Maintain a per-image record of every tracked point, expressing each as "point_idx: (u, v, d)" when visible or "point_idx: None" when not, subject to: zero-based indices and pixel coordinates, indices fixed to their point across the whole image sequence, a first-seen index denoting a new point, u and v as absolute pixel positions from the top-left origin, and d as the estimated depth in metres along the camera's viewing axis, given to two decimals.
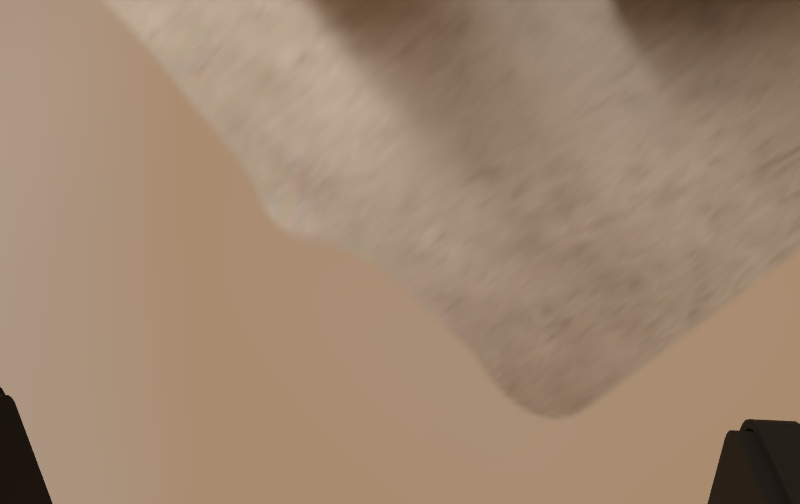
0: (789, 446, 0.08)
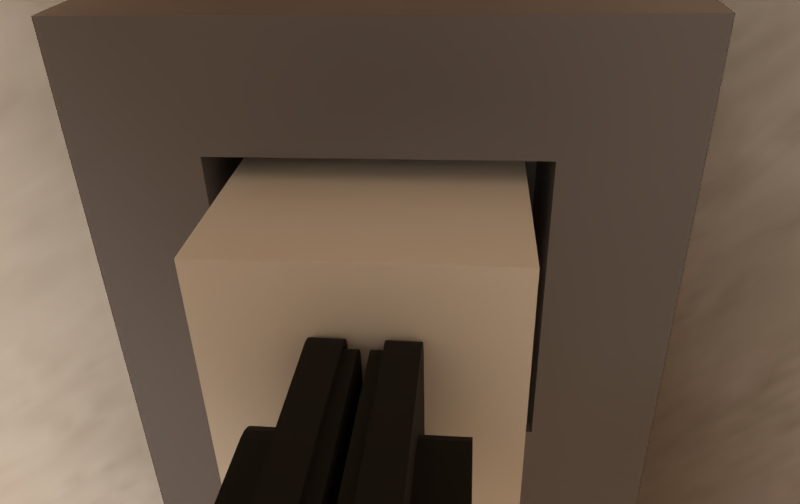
0: (400, 358, 0.09)
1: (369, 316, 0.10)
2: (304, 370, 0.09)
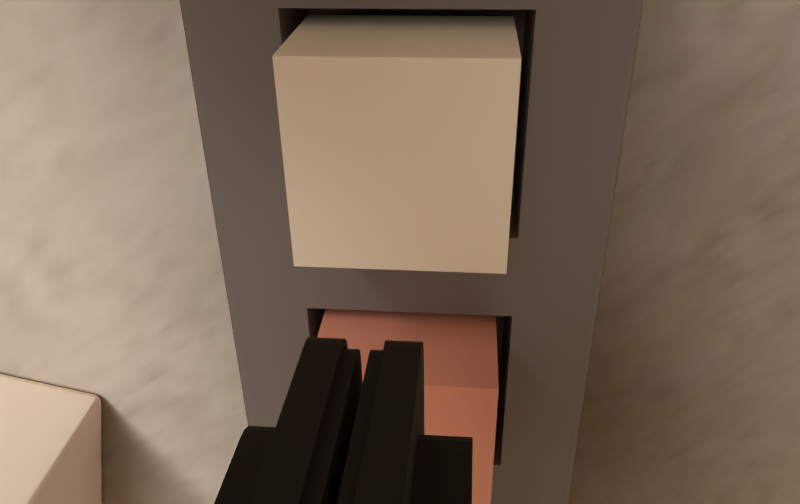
0: (400, 359, 0.09)
1: (405, 99, 0.14)
2: (304, 370, 0.09)
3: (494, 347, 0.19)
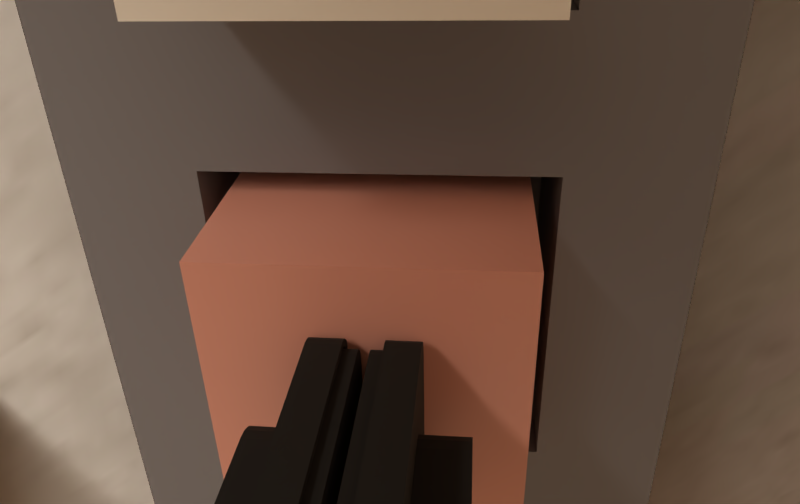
0: (400, 359, 0.09)
1: None
2: (304, 370, 0.09)
3: (530, 213, 0.11)
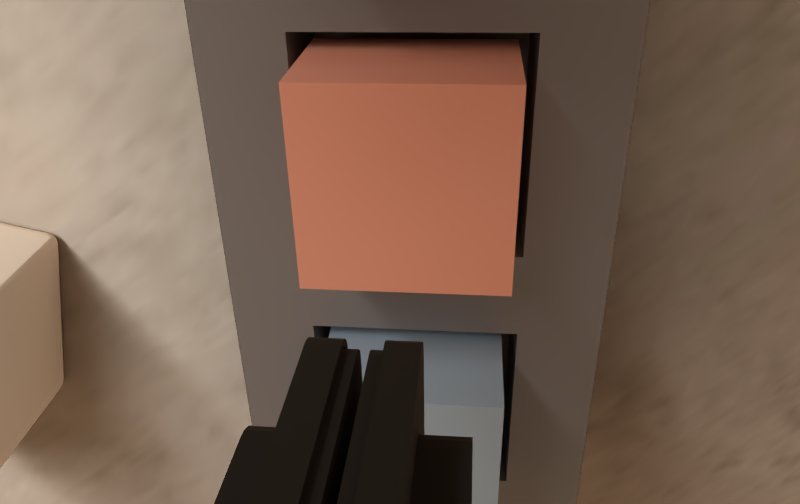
0: (400, 358, 0.09)
1: None
2: (304, 370, 0.09)
3: (518, 61, 0.15)
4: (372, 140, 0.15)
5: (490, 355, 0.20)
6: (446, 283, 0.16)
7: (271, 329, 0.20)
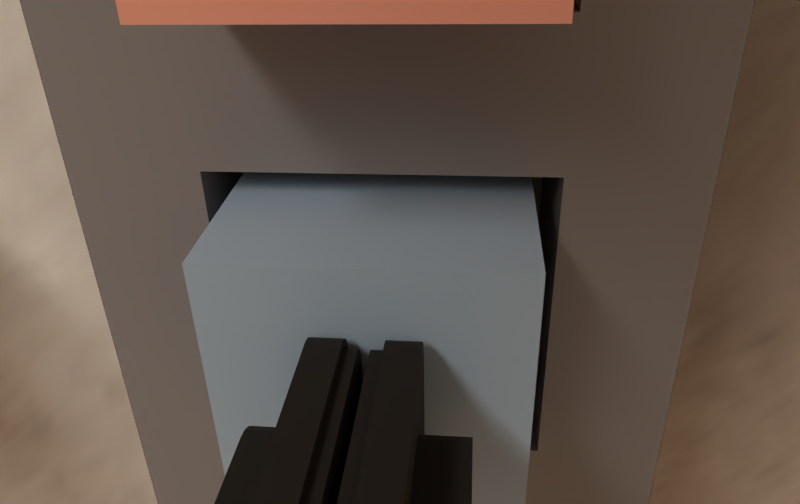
0: (400, 359, 0.09)
1: None
2: (304, 370, 0.09)
3: None
4: None
5: (513, 202, 0.11)
6: None
7: (128, 180, 0.12)
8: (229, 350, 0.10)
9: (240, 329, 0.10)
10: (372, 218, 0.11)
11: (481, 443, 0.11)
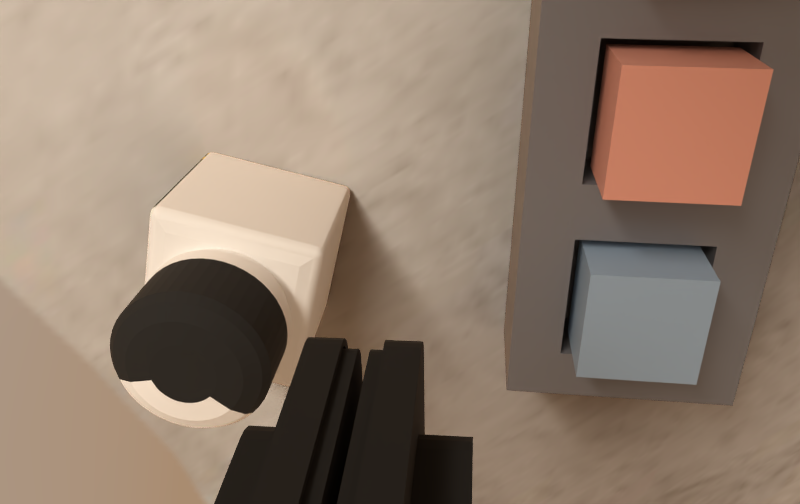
0: (400, 358, 0.09)
1: None
2: (305, 370, 0.09)
3: (754, 58, 0.25)
4: (672, 102, 0.24)
5: (697, 256, 0.29)
6: (700, 196, 0.26)
7: (545, 241, 0.30)
8: (597, 307, 0.29)
9: (604, 299, 0.28)
10: (647, 260, 0.29)
11: (686, 346, 0.29)
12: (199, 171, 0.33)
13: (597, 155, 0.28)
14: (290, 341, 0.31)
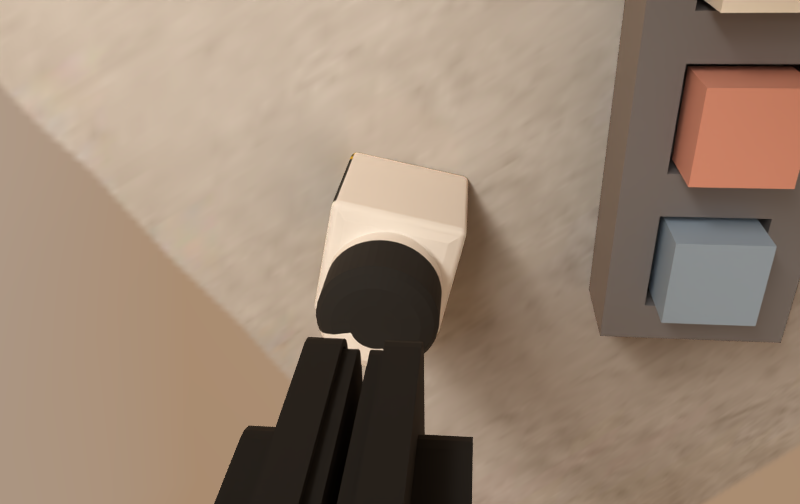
0: (400, 359, 0.09)
1: None
2: (304, 370, 0.09)
3: None
4: (744, 113, 0.33)
5: (756, 226, 0.38)
6: (763, 182, 0.34)
7: (635, 219, 0.38)
8: (680, 268, 0.37)
9: (686, 262, 0.37)
10: (717, 231, 0.37)
11: (748, 296, 0.38)
12: (354, 169, 0.41)
13: (680, 151, 0.36)
14: None
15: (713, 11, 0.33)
